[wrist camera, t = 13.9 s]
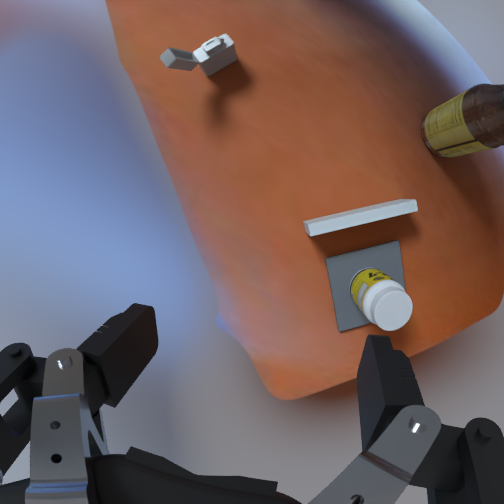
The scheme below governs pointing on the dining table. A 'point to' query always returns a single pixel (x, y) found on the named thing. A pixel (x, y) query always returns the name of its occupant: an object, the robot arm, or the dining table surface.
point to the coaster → (348, 265)
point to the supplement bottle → (380, 298)
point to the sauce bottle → (466, 122)
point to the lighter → (203, 56)
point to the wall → (359, 216)
